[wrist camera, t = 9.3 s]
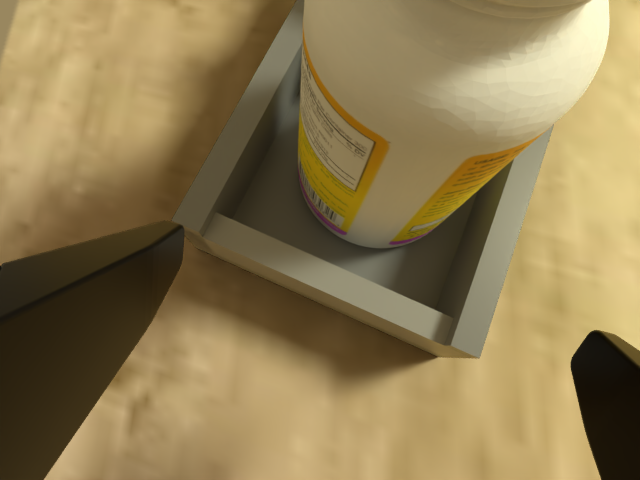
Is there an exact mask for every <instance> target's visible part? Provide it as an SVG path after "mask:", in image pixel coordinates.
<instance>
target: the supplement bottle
mask: <svg viewBox="0 0 640 480" xmlns="http://www.w3.org/2000/svg"><path fill="white" fill-rule="evenodd" d="M608 35H609V3H608V0H305V1H304V15H303V32H302V64H301V90H300V111H299V137H298V174H299V182H300V186H301V190H302V193H303V196H304V199H305V201H306V203H307V205H308V206H309V208H310V210H311V211H312V213H313V214H314V215H315V217H316V218H317V219H318V220H319V221H320V222H321V223H322V224H323V225H324V226H325V227H326V228H327V229H328V230H330V231H331V232H332V233H334V234H335V235H337V236H338V237H340V238H342V239H344V240H346V241H348V242H351V243H354V244H356V245H360V246H364V247H370V248H392V247H398V246H403V245H406V244H409V243H412V242H414V241H416V240H418V239H420V238H422V237H423V236H425V235H427V234H428V233H429V232H431V231H432V230H433V229H434V228H436V227H437V226H438V225H439V224H440V223H442V222H443V221H444V220H445V219H446V218H447V217H448V216H449V215H451V214H452V213H453V212H454V211H455V210H456V209H457V208H459V207H460V206H461V205H462V204H463V203H464V202H465V201H466V200H468V199H469V198H470V197H471V196H472V195H473V194H474V193H476V192H477V191H478V190H479V189H480V188H481V187H482V186H483V185H485V184H486V183H487V182H488V181H489V180H490V179H491V178H492V177H494V176H495V175H496V174H497V173H498V172H499V171H500V170H501V169H502V168H504V167H505V166H506V165H507V164H508V163H510V162H511V161H512V160H513V159H514V158H515V157H516V156H518V155H519V154H520V153H521V152H522V151H523V150H524V149H525V148H527V147H528V146H529V145H530V144H531V143H532V142H534V141H535V140H536V139H537V138H538V137H540V136H541V135H542V134H543V133H544V132H545V131H547V130H548V129H549V128H550V127H551V126H552V125H553V124H554V123H556V122H557V121H558V120H559V119H560V118H561V117H562V116H563V115H564V114H565V113H566V112H567V111H569V110H570V109H571V108H572V107H573V106H574V105H575V103H576V102H577V101H578V100H579V99H580V97H581V96H582V95H583V94H584V93H585V91H586V89H587V88H588V86H589V85H590V83H591V81H592V80H593V78H594V76H595V74H596V72H597V70H598V68H599V66H600V64H601V61H602V59H603V56H604V53H605V50H606V45H607V40H608Z"/></svg>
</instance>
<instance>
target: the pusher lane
mask: <svg viewBox="0 0 640 480" xmlns="http://www.w3.org/2000/svg"><path fill="white" fill-rule="evenodd" d="M304 1H305V0H297V1H296V2H295V4H294V6H293V8H292V9H291V11H290V13H289V15H288V17H287V18H286V20H285V22H284V24H283V25H282V27H281V29H280V31H279V32H278V34H277V36H276V38H275V39H274V41H273V43H272V45H271V46H270V48H269V50H268V52H267V53H266V55H265V57H264V59H263V60H262V62H261V64H260V66H259V67H258V69H257V71H256V73H255V74H254V76H253V78H252V80H251V81H250V83H249V85H248V87H247V88H246V90H245V92H244V94H243V95H242V97H241V99H240V101H239V102H238V104H237V106H236V108H235V110H234V111H233V113H232V115H231V117H230V118H229V120H228V122H227V124H226V125H225V127H224V129H223V131H222V132H221V134H220V136H219V138H218V139H217V141H216V143H215V145H214V146H213V148H212V150H211V152H210V153H209V155H208V157H207V159H206V160H205V162H204V164H203V166H202V167H201V169H200V171H199V173H198V174H197V176H196V178H195V180H194V181H193V183H192V185H191V187H190V188H189V190H188V192H187V194H186V195H185V197H184V199H183V201H182V203H181V204H180V206H179V208H178V210H177V211H176V213H175V215H174V217H173V218H172V221H173V222H174V223H178V224H181V225H183V227H184V231H185V234H184V235H185V236H186V237H187V238H188V239H189V241H190V242H191V243H192V244H193V245H194V246H195V247H196V248H198V249H200V250H202V251H204V252H207V253H209V254H211V255H213V256H215V257H218V258H220V259H222V260H224V261H227V262H229V263H231V264H233V265H235V266H238V267H240V268H242V269H244V270H247V271H249V272H251V273H253V274H255V275H258V276H260V277H262V278H264V279H267V280H269V281H271V282H273V283H275V284H278V285H280V286H282V287H284V288H286V289H289V290H291V291H293V292H295V293H298V294H300V295H302V296H304V297H306V298H309V299H311V300H313V301H315V302H318V303H320V304H322V305H324V306H326V307H329V308H331V309H333V310H335V311H338V312H340V313H342V314H344V315H346V316H349V317H351V318H353V319H355V320H358V321H360V322H362V323H364V324H366V325H369V326H371V327H373V328H375V329H377V330H380V331H382V332H384V333H386V334H389V335H391V336H393V337H395V338H397V339H400V340H402V341H404V342H406V343H409V344H411V345H413V346H415V347H417V348H420V349H422V350H424V351H426V352H429V353H431V354H433V355H435V356H437V357H447V358H480V356H481V352H482V349H483V346H484V343H485V340H486V337H487V334H488V330H489V327H490V324H491V321H492V318H493V315H494V312H495V308H496V305H497V302H498V299H499V296H500V293H501V290H502V286H503V283H504V280H505V277H506V274H507V271H508V267H509V264H510V261H511V258H512V255H513V252H514V249H515V245H516V242H517V239H518V236H519V233H520V230H521V227H522V223H523V220H524V217H525V214H526V211H527V208H528V205H529V201H530V198H531V195H532V192H533V189H534V186H535V183H536V179H537V176H538V173H539V170H540V167H541V164H542V161H543V157H544V154H545V151H546V148H547V145H548V142H549V138H550V135H551V132H552V129H553V126H554V124H553V125H552V126H551V127H550V128H549V129H548V130H547V131H545V132H544V133H543V134H542V135H541V136H540V137H538V138H537V139H536V140H535V141H534V142H532V143H531V144H530V145H529V146H528V147H527V148H525V149H524V150H523V151H522V152H521V153H520V154H519V155H518V156H516V157H515V158H514V159H513V160H512V161H511V162H510V163H508V164H507V165H506V166H505V167H504V168H502V169H501V170H500V171H499V172H498V173H497V174H496V175H495V176H494V177H492V178H491V179H490V180H489V181H488V182H487V183H486V184H485V185H483V186H482V187H481V188H480V189H479V190H478V191H477V192H476V193H474V194H473V195H472V196H471V197H470V198H469V199H468V200H466V201H465V202H464V203H463V204H462V205H461V206H460V207H459V208H457V209H456V210H455V211H454V212H453V213H452V214H451V215H449V216H448V217H447V218H446V219H445V220H444V221H443V222H442V223H440V224H439V225H438V226H437V227H436V228H434V229H433V230H432V231H431V232H429V233H428V234H427V235H425V236H423V237H422V238H420V239H418V240H416V241H414V242H412V243H409V244H406V245H403V246H398V247H392V248H370V247H364V246H360V245H356V244H354V243H351V242H348V241H346V240H344V239H342V238H340V237H338V236H337V235H335V234H334V233H332V232H331V231H330V230H328V229H327V228H326V227H325V226H324V225H323V224H322V223H321V222H320V221H319V220H318V219H317V218H316V217H315V215H314V214H313V213H312V211H311V210H310V208H309V206H308V205H307V203H306V201H305V199H304V196H303V193H302V190H301V186H300V182H299V174H298V137H299V111H300V90H301V64H302V32H303V15H304Z"/></svg>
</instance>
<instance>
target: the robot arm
mask: <svg viewBox="0 0 640 480" xmlns="http://www.w3.org/2000/svg"><path fill="white" fill-rule="evenodd" d="M184 234H185V231H184V227H183V225H181V224H178V223H174V222H170V221H160V222H157V223H153V224H149V225H145V226H142V227H138V228H134V229H130V230H127V231H123V232H119V233H115V234H112V235H108V236H104V237H100V238H97V239H93V240H89V241H85V242H82V243H78V244H74V245H70V246H67V247H63V248H59V249H55V250H52V251H48V252H44V253H40V254H37V255H33V256H29V257H25V258H22V259H18V260H14V261H10V262H7V263H3V264H2V266H0V480H44V478H45V477H46V475H47V474H48V472H49V471H50V470H51V468H52V467H53V465H54V464H55V462H56V461H57V459H58V458H59V456H60V455H61V454H62V452H63V451H64V449H65V448H66V446H67V445H68V443H69V442H70V441H71V439H72V438H73V436H74V435H75V433H76V432H77V430H78V429H79V427H80V426H81V425H82V423H83V422H84V420H85V419H86V417H87V416H88V414H89V413H90V411H91V410H92V409H93V407H94V406H95V404H96V403H97V401H98V400H99V398H100V397H101V395H102V394H103V393H104V391H105V390H106V388H107V387H108V385H109V384H110V382H111V381H112V380H113V378H114V377H115V375H116V374H117V372H118V371H119V369H120V368H121V366H122V365H123V364H124V362H125V361H126V359H127V358H128V356H129V355H130V353H131V352H132V350H133V349H134V348H135V346H136V345H137V343H138V342H139V340H140V339H141V337H142V336H143V334H144V333H145V332H146V330H147V328H148V327H149V325H150V324H151V322H152V320H153V318H154V317H155V315H156V313H157V311H158V309H159V307H160V305H161V303H162V301H163V299H164V298H165V296H166V294H167V292H168V290H169V288H170V286H171V284H172V282H173V280H174V278H175V276H176V274H177V272H178V271H179V269H180V266H181V263H182V259H183V247H184ZM571 371H572V376H573V380H574V384H575V389H576V393H577V398H578V402H579V406H580V411H581V415H582V420H583V424H584V428H585V432H586V435H587V438H588V442H589V445H590V448H591V451H592V454H593V457H594V460H595V463H596V465H597V468H598V471H599V474H600V477H601V480H640V351H639V350H637V349H636V348H634V347H633V346H632V345H630V344H629V343H627V342H626V341H624V340H623V339H621V338H620V337H618V336H616V335H615V334H612V333H608V332H604V331H600V330H594V331H592V332H590V333H589V334H588V335H587V337H586V338H585V339H584V341H583V342H582V344H581V345H580V347H579V348H578V349H577V351H576V352H575V354H574V355H573V357H572V360H571Z"/></svg>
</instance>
